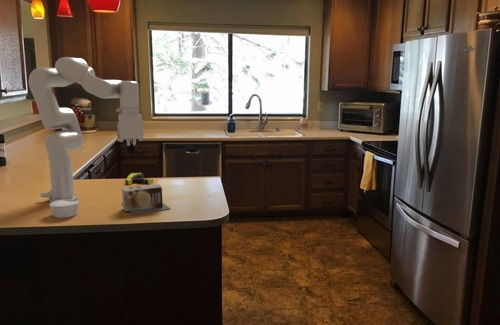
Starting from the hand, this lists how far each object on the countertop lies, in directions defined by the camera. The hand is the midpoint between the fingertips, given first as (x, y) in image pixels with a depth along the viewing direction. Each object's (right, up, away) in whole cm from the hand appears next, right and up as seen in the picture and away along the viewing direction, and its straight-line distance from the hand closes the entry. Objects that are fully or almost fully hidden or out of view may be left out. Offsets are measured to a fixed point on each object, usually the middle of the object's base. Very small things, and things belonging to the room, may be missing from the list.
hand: (130, 154), depth 179 cm
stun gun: (-10, -14, +56) cm, 58 cm away
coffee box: (-4, -19, 0) cm, 19 cm away
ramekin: (-26, -25, -5) cm, 36 cm away
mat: (+5, -23, +7) cm, 24 cm away
